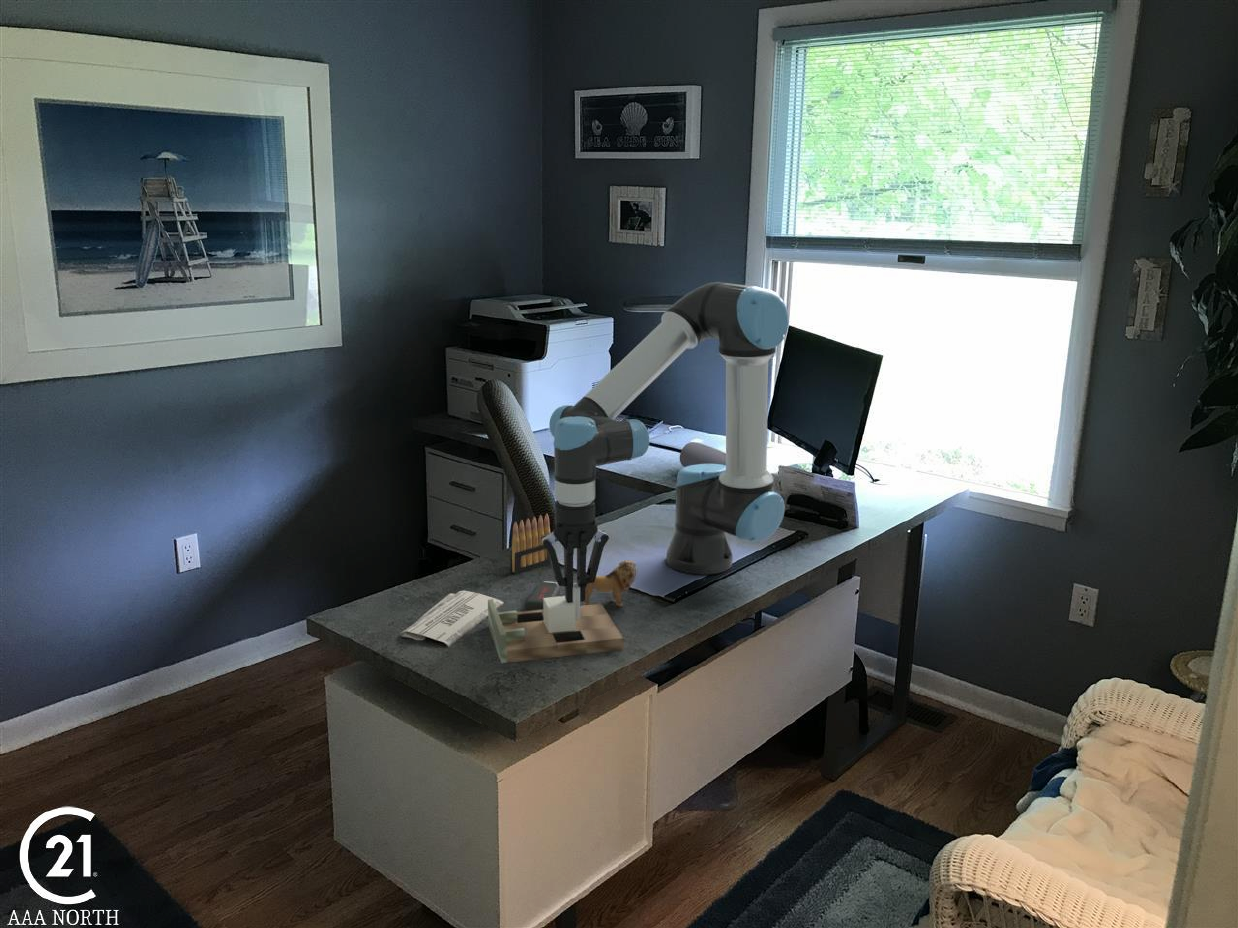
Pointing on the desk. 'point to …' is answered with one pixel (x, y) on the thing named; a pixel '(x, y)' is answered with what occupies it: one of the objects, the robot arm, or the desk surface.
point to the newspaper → (451, 617)
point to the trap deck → (551, 634)
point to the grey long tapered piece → (701, 455)
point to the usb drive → (542, 595)
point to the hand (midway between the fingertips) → (575, 616)
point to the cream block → (558, 614)
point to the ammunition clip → (529, 546)
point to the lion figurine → (613, 582)
